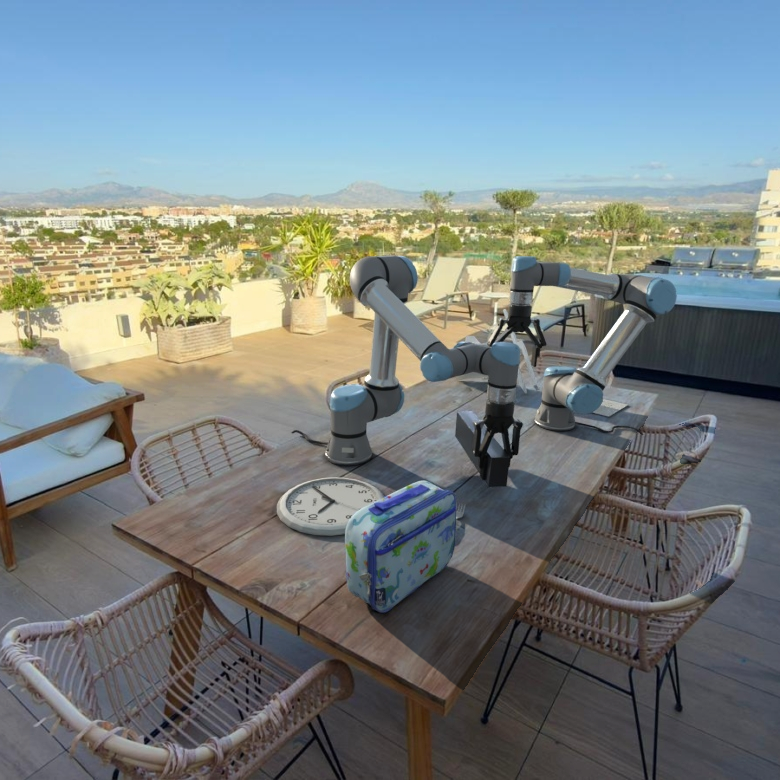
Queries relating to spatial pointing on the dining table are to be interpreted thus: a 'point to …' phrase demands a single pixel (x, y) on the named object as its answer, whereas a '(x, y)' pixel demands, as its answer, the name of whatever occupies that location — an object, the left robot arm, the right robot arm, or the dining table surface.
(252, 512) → the dining table surface
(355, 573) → the lunch box
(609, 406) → the invitation card
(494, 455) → the bar
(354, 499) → the wall clock
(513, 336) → the white plastic object
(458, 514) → the fork
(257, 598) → the dining table surface
